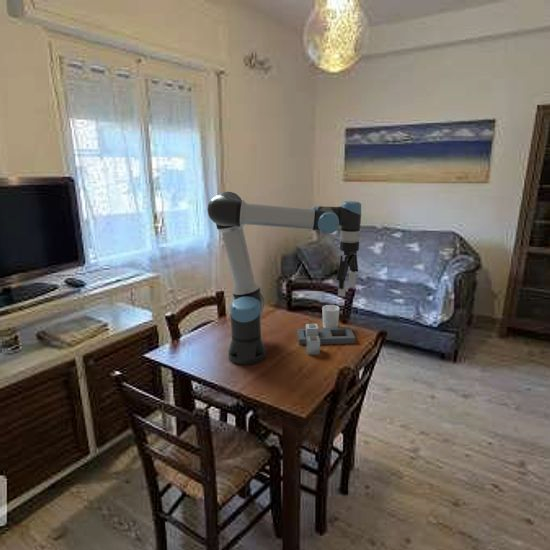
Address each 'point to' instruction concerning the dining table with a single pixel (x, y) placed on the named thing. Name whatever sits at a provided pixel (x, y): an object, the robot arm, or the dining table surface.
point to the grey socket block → (326, 334)
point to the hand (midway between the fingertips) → (346, 291)
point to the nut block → (313, 345)
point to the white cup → (330, 316)
